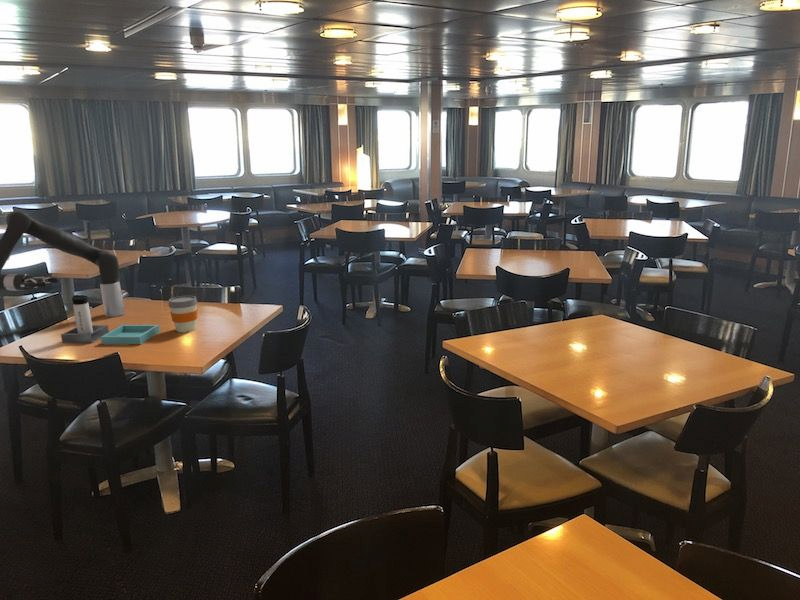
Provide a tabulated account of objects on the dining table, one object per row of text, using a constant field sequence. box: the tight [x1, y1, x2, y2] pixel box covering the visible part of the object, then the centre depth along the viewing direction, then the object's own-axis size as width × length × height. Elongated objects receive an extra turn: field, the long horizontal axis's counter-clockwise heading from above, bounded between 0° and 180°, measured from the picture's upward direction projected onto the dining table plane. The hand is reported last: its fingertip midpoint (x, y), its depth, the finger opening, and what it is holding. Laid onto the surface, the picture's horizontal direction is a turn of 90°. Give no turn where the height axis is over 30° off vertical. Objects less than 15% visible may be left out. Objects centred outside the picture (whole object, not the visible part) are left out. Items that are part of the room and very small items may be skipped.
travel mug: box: [71, 294, 93, 334], centre depth 281 cm, size 6×7×20 cm
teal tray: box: [100, 324, 161, 346], centre depth 281 cm, size 18×18×4 cm
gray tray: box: [60, 324, 110, 344], centre depth 283 cm, size 14×14×4 cm
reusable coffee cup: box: [168, 295, 198, 333], centre depth 290 cm, size 13×12×15 cm
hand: (52, 282), depth 278 cm, fingers open, 8 cm apart
